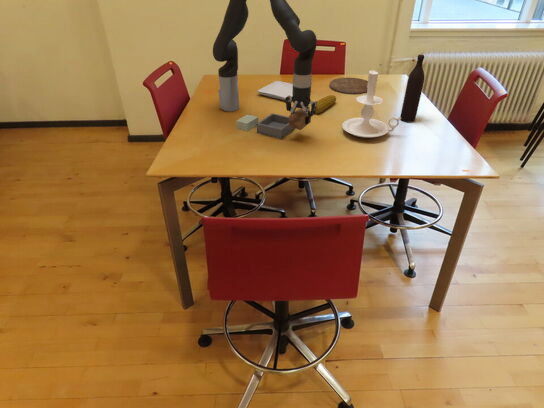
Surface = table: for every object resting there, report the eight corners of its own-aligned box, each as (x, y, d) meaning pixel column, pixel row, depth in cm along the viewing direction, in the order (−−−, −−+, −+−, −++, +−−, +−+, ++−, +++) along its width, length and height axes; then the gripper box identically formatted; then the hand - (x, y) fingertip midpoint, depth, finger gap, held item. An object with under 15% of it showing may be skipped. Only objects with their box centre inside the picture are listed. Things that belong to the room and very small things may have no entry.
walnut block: (288, 126, 163) (289, 115, 160) (298, 119, 169) (299, 108, 166) (301, 129, 161) (301, 118, 158) (310, 122, 167) (311, 111, 164)
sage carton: (236, 128, 177) (236, 120, 175) (248, 122, 183) (247, 114, 181) (247, 131, 175) (247, 123, 172) (258, 124, 181) (258, 116, 178)
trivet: (376, 95, 212) (376, 91, 211) (331, 95, 213) (332, 91, 212) (367, 80, 233) (368, 77, 232) (327, 80, 233) (327, 77, 232)
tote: (256, 132, 173) (256, 123, 170) (272, 121, 183) (272, 113, 180) (281, 139, 167) (281, 129, 165) (296, 127, 177) (296, 118, 175)
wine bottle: (416, 118, 185) (430, 54, 168) (413, 123, 180) (428, 58, 162) (401, 115, 188) (414, 52, 170) (398, 121, 182) (411, 56, 165)
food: (319, 116, 188) (320, 104, 185) (309, 114, 191) (310, 102, 187) (338, 103, 202) (339, 92, 199) (328, 101, 205) (329, 90, 201)
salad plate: (308, 92, 216) (308, 86, 214) (289, 104, 202) (289, 97, 200) (276, 85, 226) (276, 80, 224) (256, 96, 211) (256, 90, 209)
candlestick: (398, 146, 162) (412, 80, 145) (340, 141, 166) (347, 76, 149) (396, 126, 178) (408, 65, 161) (342, 122, 182) (349, 62, 166)
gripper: (282, 83, 155) (281, 121, 165) (314, 90, 149) (311, 129, 159) (290, 78, 160) (289, 115, 170) (322, 84, 154) (318, 122, 164)
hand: (300, 122), depth 164 cm, fingers closed on walnut block, 6 cm apart
